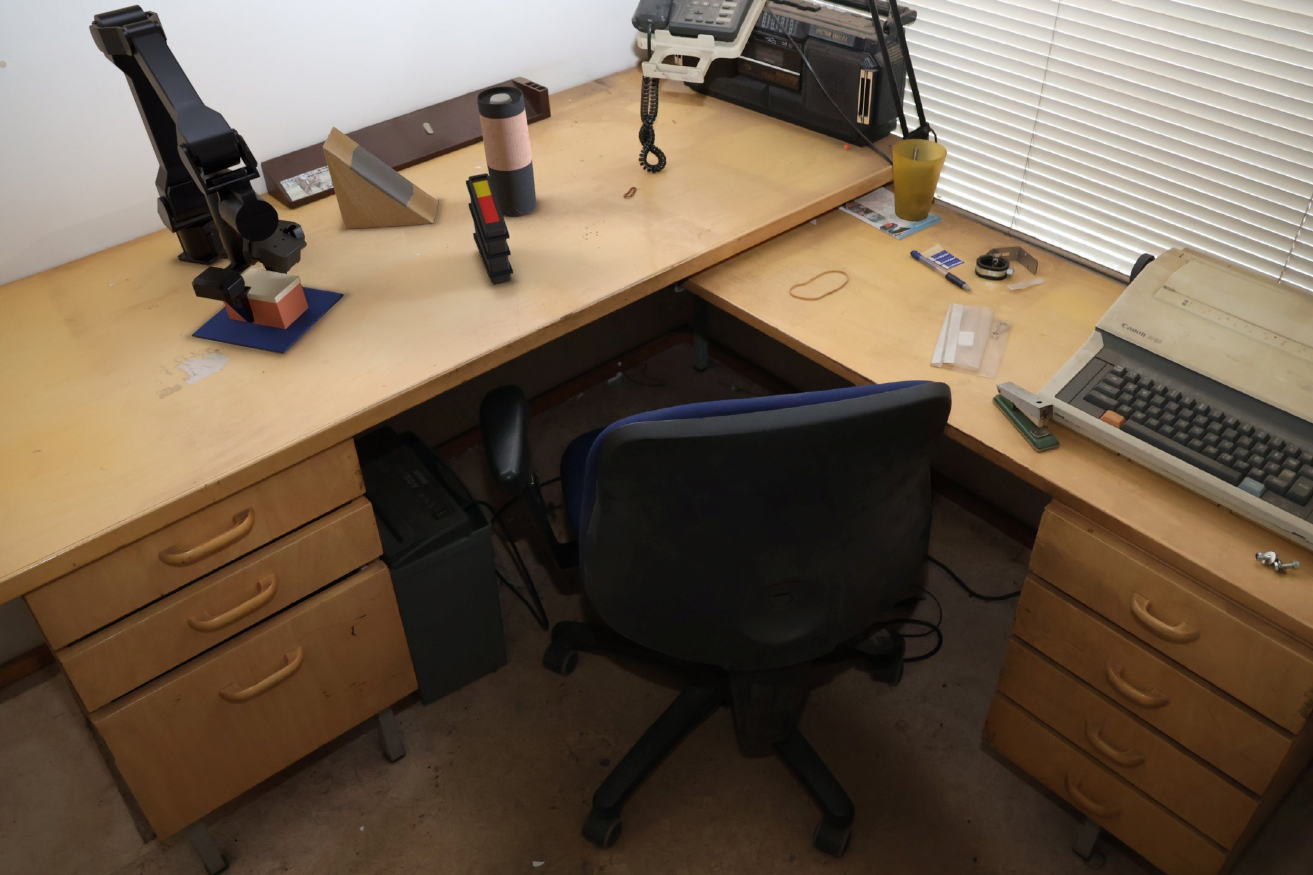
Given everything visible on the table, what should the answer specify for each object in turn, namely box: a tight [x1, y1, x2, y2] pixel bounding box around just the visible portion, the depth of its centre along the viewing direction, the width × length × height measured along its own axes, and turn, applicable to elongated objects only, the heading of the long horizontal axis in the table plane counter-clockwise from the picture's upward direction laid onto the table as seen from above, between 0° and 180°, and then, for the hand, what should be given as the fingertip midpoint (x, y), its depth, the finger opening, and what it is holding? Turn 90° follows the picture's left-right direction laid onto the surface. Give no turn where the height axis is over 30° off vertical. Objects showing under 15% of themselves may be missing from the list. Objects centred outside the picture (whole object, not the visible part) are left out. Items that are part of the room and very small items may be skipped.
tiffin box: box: [222, 267, 308, 329], centre depth 150 cm, size 10×6×6 cm, turn 71°
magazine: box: [465, 172, 514, 285], centre depth 156 cm, size 4×13×15 cm
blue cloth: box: [191, 286, 345, 355], centre depth 152 cm, size 16×16×1 cm
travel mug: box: [476, 85, 537, 218], centre depth 169 cm, size 8×8×20 cm
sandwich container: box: [322, 126, 439, 230], centre depth 170 cm, size 9×15×15 cm, turn 93°
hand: (267, 307), depth 151 cm, fingers open, 8 cm apart
